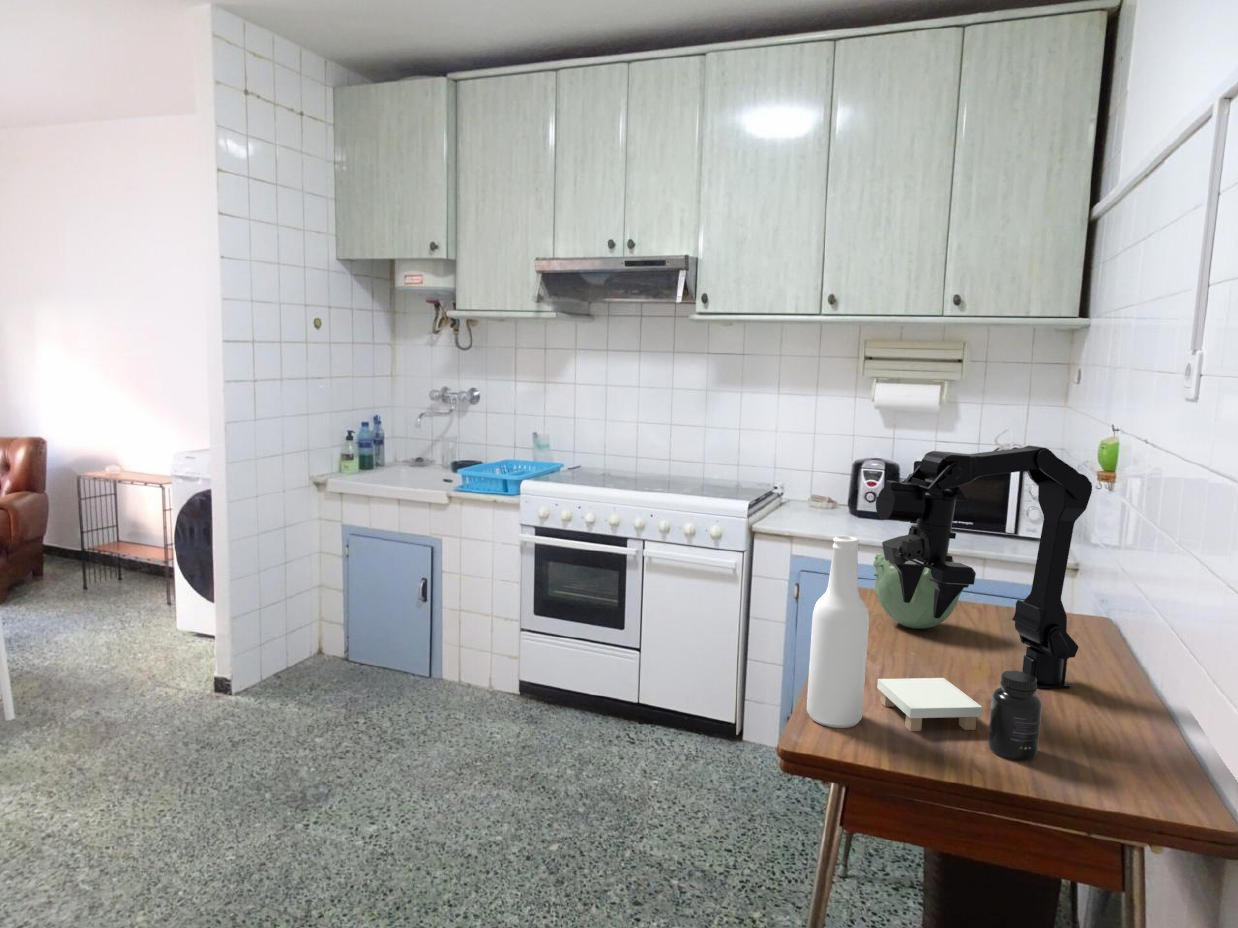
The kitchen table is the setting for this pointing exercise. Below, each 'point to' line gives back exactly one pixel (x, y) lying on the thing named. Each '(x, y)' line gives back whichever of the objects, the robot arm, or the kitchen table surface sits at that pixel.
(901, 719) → the kitchen table surface
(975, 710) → the white square riser
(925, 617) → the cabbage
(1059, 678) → the robot arm
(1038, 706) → the supplement bottle
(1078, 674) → the kitchen table surface
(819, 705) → the alcohol
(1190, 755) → the kitchen table surface
